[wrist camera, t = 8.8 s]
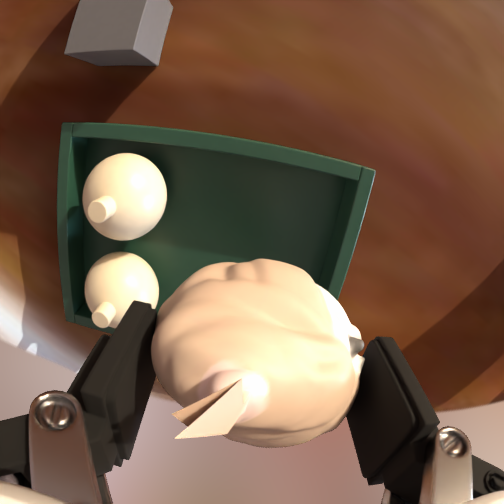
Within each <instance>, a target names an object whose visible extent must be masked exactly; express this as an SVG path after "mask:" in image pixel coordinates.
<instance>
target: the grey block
mask: <svg viewBox="0 0 504 504" xmlns="http://www.w3.org/2000/svg"><path fill="white" fill-rule="evenodd" d="M172 10H173V6H172V5H171V3H170V2H169V0H80V2H79V5H78V8H77V11H76V14H75V17H74V20H73V23H72V27H71V30H70V34H69V37H68V41H67V45H66V49H65V53H64V54H65V55H68V56H71V57H74V58H77V59H80V60H83V61H86V62H89V63H92V64H94V65H97V66H120V65H135V66H158V65H159V60H160V56H161V51H162V47H163V43H164V39H165V35H166V32H167V28H168V24H169V20H170V17H171V13H172Z"/></svg>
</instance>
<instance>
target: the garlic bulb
mask: <svg viewBox="0 0 504 504" xmlns="http://www.w3.org/2000/svg"><path fill="white" fill-rule="evenodd" d="M363 348H364V342H363V340H361V335H360V332H359V330H358V329H357V328H356V327H355V326H353V325H352V324H351V323H350V322H349V319H348V317H347V315H346V313H345V311H344V309H343V308H342V306H341V305H340V304H339V302H338V301H337V300H336V299H335V298H334V297H333V296H332V295H331V294H330V293H329V292H328V291H326V290H325V289H324V288H322V287H321V286H319V285H317V284H315V283H314V281H313V279H312V278H311V277H310V275H309V274H308V273H306V272H305V271H304V270H302V269H301V268H299V267H296V266H294V265H291V264H288V263H284V262H280V261H275V260H269V259H255V260H253V261H250V262H243V263H234V262H222V263H216V264H212V265H208V266H206V267H203V268H201V269H199V270H198V271H196V272H195V273H194V274H192V275H191V276H190V277H189V278H187V279H186V280H185V281H184V282H183V283H182V284H181V285H180V286H179V287H178V288H177V289H176V291H175V292H174V293H173V294H172V296H170V297H169V298H168V299H167V300H166V301H165V302H164V303H163V304H162V306H161V307H160V309H159V312H158V315H157V319H156V325H155V333H154V335H153V339H152V345H151V357H152V363H153V367H154V371H155V373H156V376H157V378H158V380H159V382H160V383H161V385H162V386H163V388H164V389H165V390H166V391H167V393H168V394H169V395H170V396H171V397H172V398H173V399H174V400H176V401H177V402H178V403H179V404H180V405H181V406H182V407H184V408H183V409H181V410H179V411H177V412H175V413H173V414H172V415H173V416H175V417H176V418H177V419H178V420H180V421H181V422H182V423H184V424H185V425H186V426H188V427H187V428H186V429H185V430H184V431H183V432H181V433H180V434H179V435H178V436H177V437H175V439H177V438H192V437H204V436H214V435H223V436H224V437H226V438H228V439H230V440H232V441H236V442H240V443H245V444H248V445H252V446H257V447H265V448H276V447H288V446H294V445H298V444H302V443H305V442H308V441H310V440H312V439H314V438H316V437H318V436H320V435H322V434H324V433H326V432H330V431H332V430H334V429H335V428H337V427H338V425H339V424H340V423H341V422H342V421H343V419H344V418H345V417H346V415H347V414H348V412H349V410H350V409H351V407H352V405H353V403H354V401H355V398H356V396H357V393H358V390H359V385H360V373H361V370H362V367H363V364H364V360H365V358H363V357H361V356H359V355H357V354H358V352H360V351H361V350H363Z"/></svg>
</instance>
